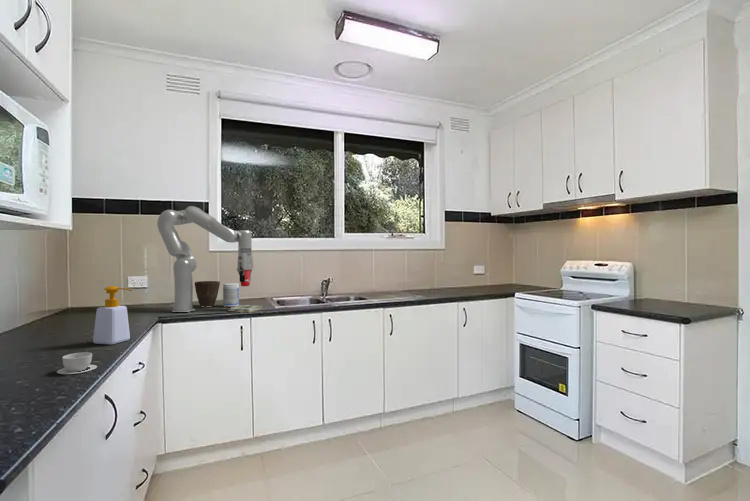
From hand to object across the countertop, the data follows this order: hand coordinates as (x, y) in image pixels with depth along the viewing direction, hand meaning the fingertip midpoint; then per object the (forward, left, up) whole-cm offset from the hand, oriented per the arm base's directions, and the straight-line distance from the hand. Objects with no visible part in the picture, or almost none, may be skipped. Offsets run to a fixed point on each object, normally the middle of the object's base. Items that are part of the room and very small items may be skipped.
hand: (245, 281), depth 245 cm
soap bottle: (-2, -87, -18) cm, 89 cm away
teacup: (+18, -119, -18) cm, 122 cm away
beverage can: (0, 0, -3) cm, 3 cm away
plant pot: (-31, +6, -18) cm, 36 cm away
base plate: (0, 0, -18) cm, 18 cm away
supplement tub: (-18, +12, -18) cm, 28 cm away
